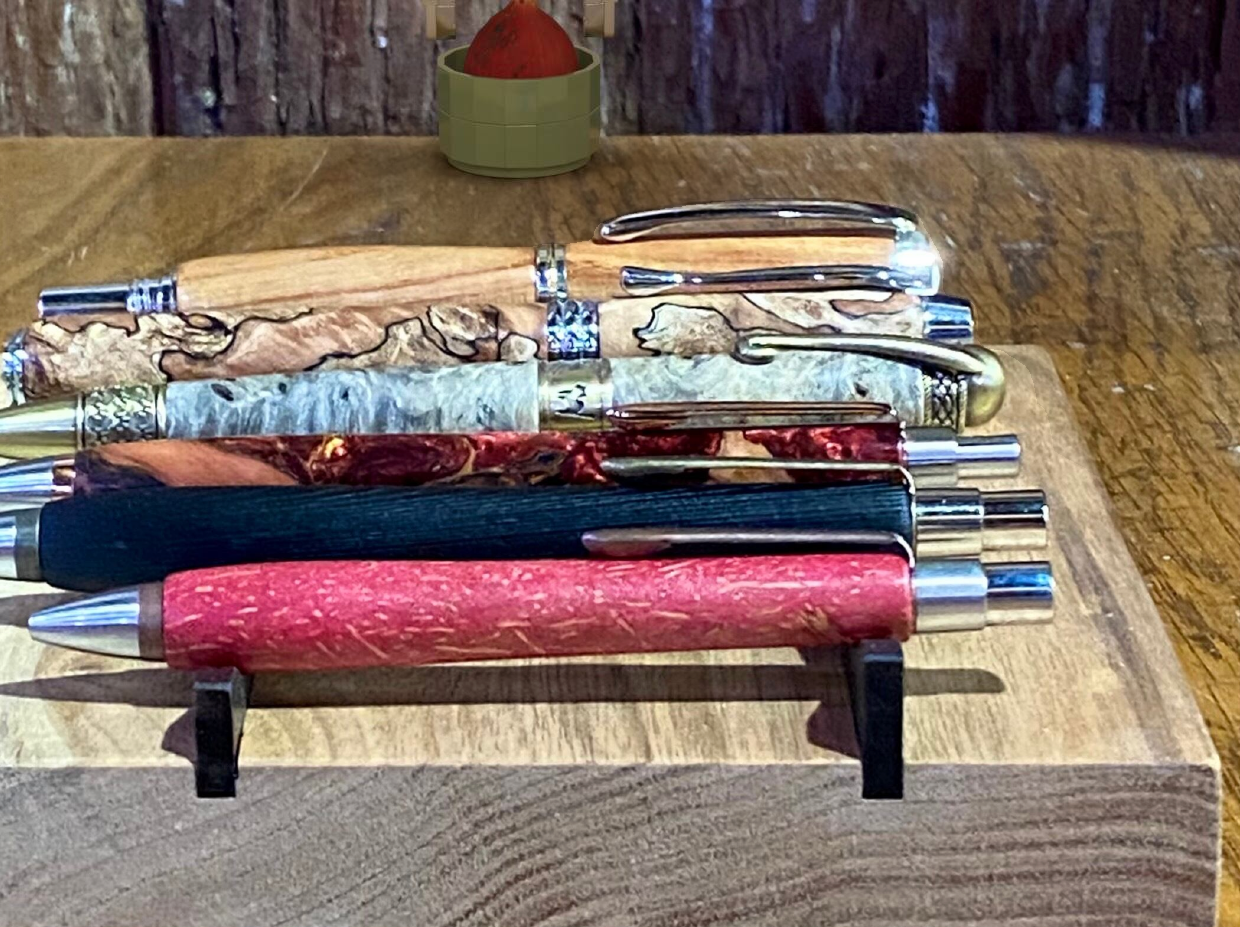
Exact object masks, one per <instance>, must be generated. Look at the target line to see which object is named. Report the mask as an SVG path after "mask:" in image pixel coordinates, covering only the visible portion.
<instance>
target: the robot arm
mask: <svg viewBox="0 0 1240 927" xmlns="http://www.w3.org/2000/svg"><path fill="white" fill-rule="evenodd" d="M419 2H420V3H421V5H422V6H424V7H425V33H426V34H425V37H426V41H451V40H453V41H455V40H457V23H456V0H419ZM618 2H619V0H583V1H582V3H583V6H582V7H583V13H584V16H583V17H582V18H583V19H582V27H583V30H582V32H583V37H584V38H614V36H615V15H616V14H615V13H616V12H615V8H616V7H615V5H616V3H618Z"/></svg>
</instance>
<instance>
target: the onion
mask: <svg viewBox="0 0 1240 927" xmlns="http://www.w3.org/2000/svg"><path fill="white" fill-rule="evenodd" d="M538 1H539V0H510V1H509V3H508V4H507V5H506V6H505V7H504V8H502V9H501V10H499V11H497V12H496V13H494V15H492V16H491V17H489V19H488V20H487V21H486V22H485V23H484V24H483V26H482V27H481V28H480V29H479V30H478V32H477V33H476V35H474V37H473V40H472V41H471V42H470V44H471V45H470V46H469V49H468V52H467V55H466V57H465V61H464V69H463V73H464V74H468V75H473V76H477V77H488V78H499V79H536V78H544V77H553V76H561V75H566V74H569V73H573V72H576V71H580V70H579V62H578V56H577V53H576V51H575V48H574V45H575V44H574V43H573V41H572V40H571V38H570V36H569V35H568V33H567V32H566V30H565V29H564V28H563V27H562V25H561V24H560V23H558V21H557V20H556V19H554V18H553V17H552V16H551V15H550V14H548V13H547V12H546V11H544V10H543V9H541V8H540V7H539V5H538Z"/></svg>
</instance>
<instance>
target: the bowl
mask: <svg viewBox="0 0 1240 927" xmlns="http://www.w3.org/2000/svg"><path fill="white" fill-rule="evenodd" d="M470 45H471V43H469V44H466V45H462V46H458V47H454V48H450V49H448V50H447V51H445V52H444V53H442V54H440V55H438V57H437V104H438V105H437V106H438V110H437V111H438V112H437V113H438V150H439V151H440V152H441V153H442V154H444V155H445V156H446V160H447V161H448V164H450V165H451V166H453V167H454V168H456V169H458V170H460V171H463V172H466V173H469V174H473V175H478V176H483V177H492V178H500V179H501V178H502V179H531V178H532V179H533V178H543V177H551V176H556V175H562V174H566V173H569V172H572V171H575V170H578V169H580V168H582V167H584V166H585V165H587V164H588V163H589V162H590V160H591V158H592V155H593V154H594V153H595V152H597V151H598V150H599V149H600V140H601V139H600V134H601V133H600V132H601V128H600V127H601V126H600V125H601V106H600V105H601V59H600V55H599V53H597V52H595V51H593V50H591V49H589V48H587V47H585V46H581V45H578V44H577V45H576V44H573V45H574V48H575V51H576V53H577V56H578V62H579V70H580V71H576V72H573V73H569V74H566V75H561V76H553V77H544V78H536V79H499V78H488V77H477V76H473V75H468V74H464V73H463V69H464V61H465V57H466V55H467V52H468V49H469V46H470Z"/></svg>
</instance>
